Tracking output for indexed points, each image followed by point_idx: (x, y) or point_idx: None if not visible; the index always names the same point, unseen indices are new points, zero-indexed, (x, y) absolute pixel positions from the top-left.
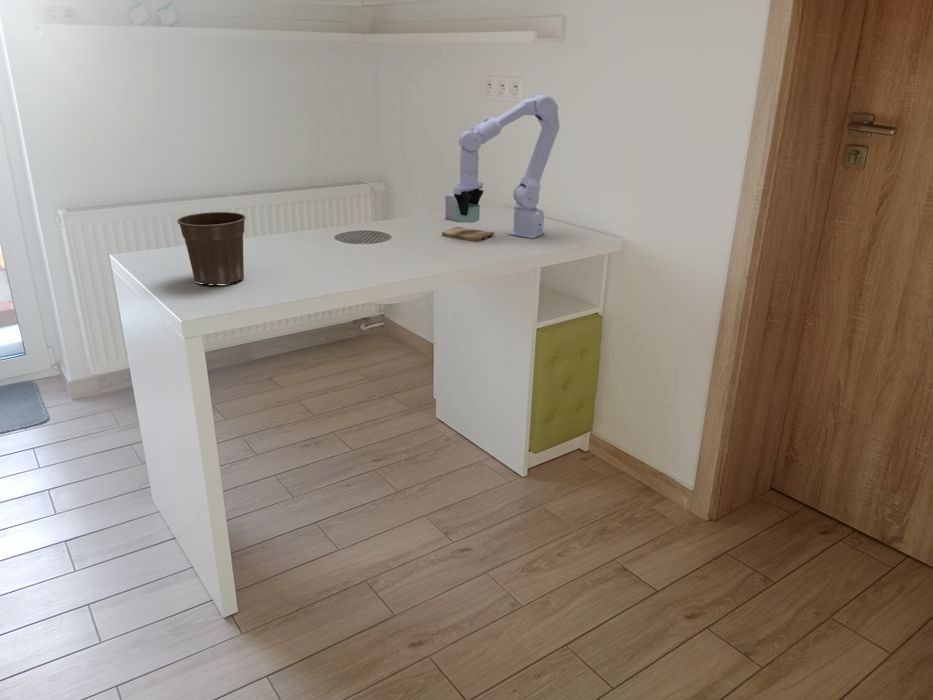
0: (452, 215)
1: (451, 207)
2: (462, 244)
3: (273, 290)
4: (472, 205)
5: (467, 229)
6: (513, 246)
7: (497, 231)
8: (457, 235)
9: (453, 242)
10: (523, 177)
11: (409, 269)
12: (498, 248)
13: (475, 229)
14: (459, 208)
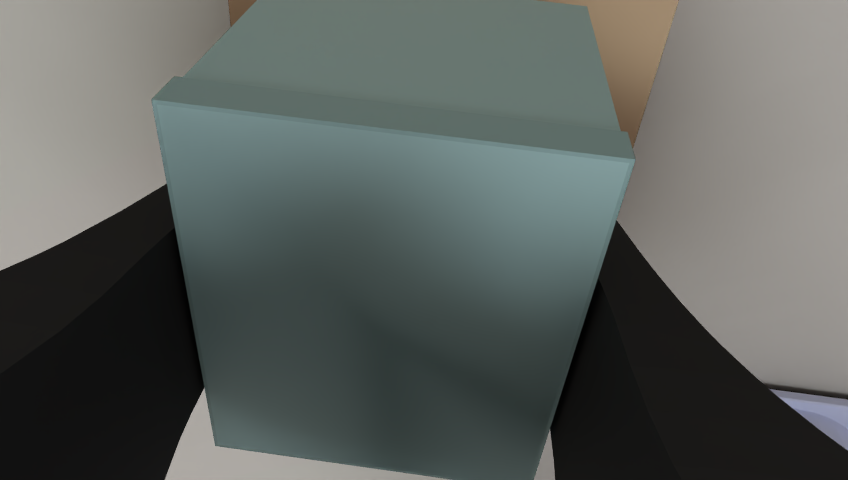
0: None
1: None
2: (79, 160)
3: None
4: (397, 414)
5: (599, 2)
6: (320, 468)
7: (816, 259)
8: (231, 16)
9: (66, 44)
10: None
11: None
12: (200, 413)
13: (643, 101)
14: (134, 213)
